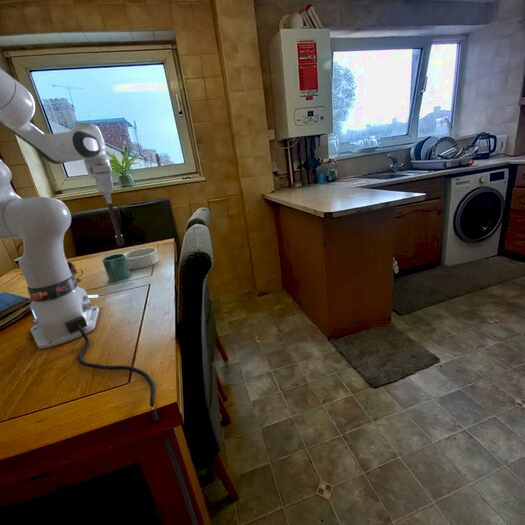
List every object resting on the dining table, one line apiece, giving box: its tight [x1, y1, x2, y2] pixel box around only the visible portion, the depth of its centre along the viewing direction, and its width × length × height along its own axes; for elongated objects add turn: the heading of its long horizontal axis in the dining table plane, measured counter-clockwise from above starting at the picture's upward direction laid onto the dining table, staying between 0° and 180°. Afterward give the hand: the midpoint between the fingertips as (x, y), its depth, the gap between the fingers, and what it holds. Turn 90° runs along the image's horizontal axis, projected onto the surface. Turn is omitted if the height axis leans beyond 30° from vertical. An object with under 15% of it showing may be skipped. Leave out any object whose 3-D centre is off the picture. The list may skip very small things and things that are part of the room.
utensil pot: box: [101, 253, 131, 283], centre depth 119 cm, size 9×9×10 cm
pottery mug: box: [67, 261, 77, 274], centre depth 130 cm, size 12×10×8 cm
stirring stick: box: [105, 201, 126, 247], centre depth 118 cm, size 3×3×22 cm
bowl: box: [123, 246, 160, 270], centre depth 135 cm, size 16×16×6 cm
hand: (109, 203), depth 116 cm, fingers closed on stirring stick, 2 cm apart
